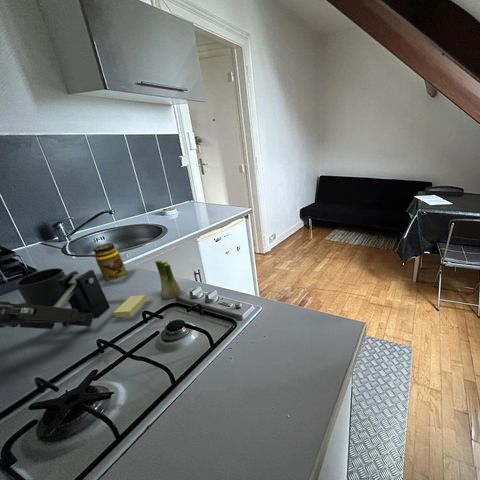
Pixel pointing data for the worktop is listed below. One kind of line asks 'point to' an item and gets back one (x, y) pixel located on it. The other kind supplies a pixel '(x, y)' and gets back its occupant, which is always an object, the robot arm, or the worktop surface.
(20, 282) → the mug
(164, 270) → the fennel bulb
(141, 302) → the butter
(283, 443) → the worktop surface
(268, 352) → the worktop surface
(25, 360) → the worktop surface
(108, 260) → the condiment
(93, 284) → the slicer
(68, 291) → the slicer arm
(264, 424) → the worktop surface
